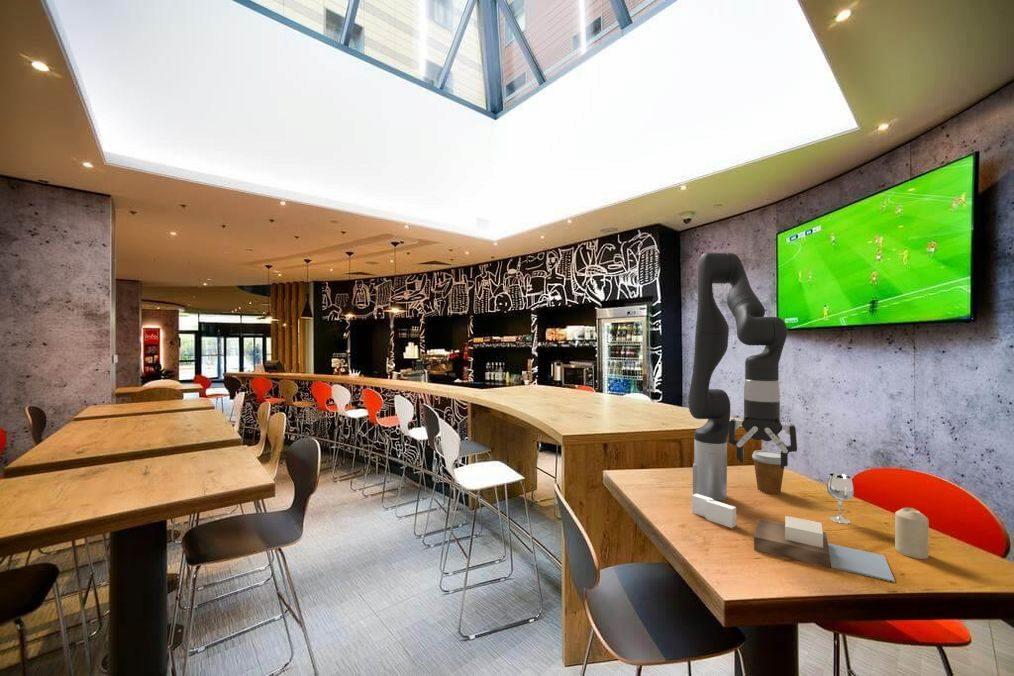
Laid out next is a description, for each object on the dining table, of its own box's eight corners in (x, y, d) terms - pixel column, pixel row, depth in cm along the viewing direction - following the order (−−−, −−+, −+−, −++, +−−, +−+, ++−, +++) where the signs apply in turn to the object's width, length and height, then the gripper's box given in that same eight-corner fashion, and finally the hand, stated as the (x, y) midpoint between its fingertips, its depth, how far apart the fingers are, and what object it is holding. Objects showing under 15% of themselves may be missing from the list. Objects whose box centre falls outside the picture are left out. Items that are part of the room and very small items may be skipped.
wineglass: (858, 525, 111) (858, 480, 111) (833, 523, 112) (833, 478, 112) (845, 516, 116) (845, 473, 116) (822, 515, 118) (822, 471, 118)
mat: (831, 567, 91) (831, 565, 91) (827, 544, 101) (827, 543, 101) (894, 582, 85) (894, 580, 85) (884, 557, 95) (884, 555, 95)
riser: (754, 549, 98) (754, 536, 98) (757, 530, 108) (757, 518, 108) (829, 567, 90) (829, 553, 90) (825, 545, 100) (826, 532, 100)
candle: (932, 562, 93) (932, 516, 93) (898, 555, 96) (898, 511, 96) (924, 551, 98) (924, 508, 98) (892, 545, 101) (892, 503, 101)
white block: (785, 539, 97) (785, 526, 97) (785, 528, 103) (785, 515, 103) (823, 547, 93) (823, 534, 93) (821, 535, 99) (821, 522, 99)
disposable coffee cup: (786, 489, 138) (786, 452, 138) (786, 498, 130) (786, 459, 130) (752, 484, 143) (752, 448, 143) (751, 492, 135) (751, 455, 135)
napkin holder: (749, 532, 108) (749, 509, 108) (704, 531, 108) (704, 509, 108) (720, 508, 123) (720, 489, 123) (681, 508, 123) (681, 488, 123)
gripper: (727, 397, 104) (727, 463, 104) (797, 402, 96) (797, 474, 96) (730, 394, 110) (730, 456, 110) (796, 398, 102) (796, 465, 102)
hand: (761, 464), depth 103 cm, fingers open, 8 cm apart
